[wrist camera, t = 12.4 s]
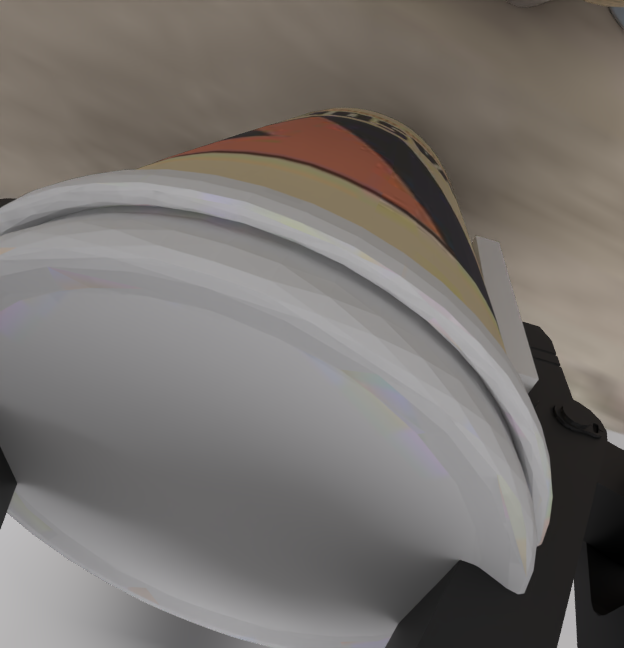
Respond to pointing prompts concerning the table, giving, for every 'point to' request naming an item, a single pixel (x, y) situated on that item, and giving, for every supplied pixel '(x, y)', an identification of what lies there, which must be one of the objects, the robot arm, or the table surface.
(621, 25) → the disc
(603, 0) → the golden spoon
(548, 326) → the table surface
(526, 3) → the post
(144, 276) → the coffee cup
